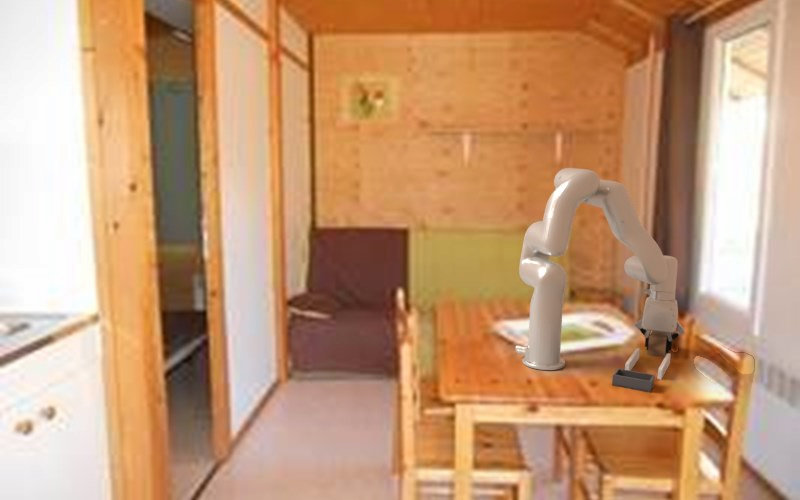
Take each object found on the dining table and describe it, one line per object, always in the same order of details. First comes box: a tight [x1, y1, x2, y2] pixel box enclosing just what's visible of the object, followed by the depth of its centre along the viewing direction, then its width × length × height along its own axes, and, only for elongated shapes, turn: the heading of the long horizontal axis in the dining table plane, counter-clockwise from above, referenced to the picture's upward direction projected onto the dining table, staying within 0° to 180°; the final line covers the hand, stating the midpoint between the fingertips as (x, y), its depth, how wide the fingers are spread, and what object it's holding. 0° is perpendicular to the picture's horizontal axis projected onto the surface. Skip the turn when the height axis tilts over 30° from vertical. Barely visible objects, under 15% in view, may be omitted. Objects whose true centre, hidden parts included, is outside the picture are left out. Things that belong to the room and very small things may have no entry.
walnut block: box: [647, 331, 668, 358], centre depth 210 cm, size 5×10×6 cm, turn 151°
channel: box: [624, 347, 672, 381], centre depth 195 cm, size 10×16×3 cm, turn 150°
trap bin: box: [611, 368, 656, 393], centre depth 182 cm, size 10×6×3 cm, turn 60°
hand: (657, 350), depth 209 cm, fingers closed on walnut block, 5 cm apart
